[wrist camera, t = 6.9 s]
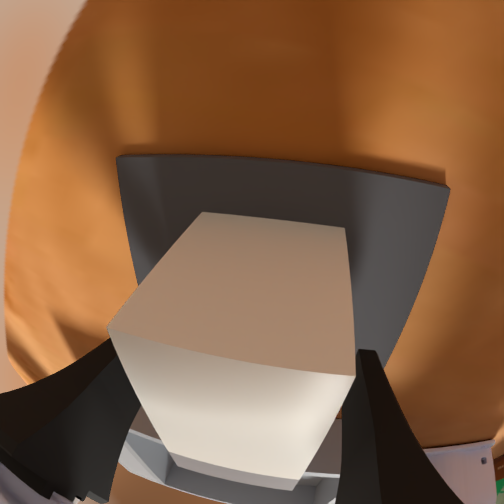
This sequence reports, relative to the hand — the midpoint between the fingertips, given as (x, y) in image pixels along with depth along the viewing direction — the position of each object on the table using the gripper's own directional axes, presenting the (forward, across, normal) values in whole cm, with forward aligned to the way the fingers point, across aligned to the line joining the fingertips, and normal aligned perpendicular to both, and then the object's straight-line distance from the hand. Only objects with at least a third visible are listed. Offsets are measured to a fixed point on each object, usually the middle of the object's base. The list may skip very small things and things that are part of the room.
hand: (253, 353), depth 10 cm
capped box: (+2, 0, 0) cm, 3 cm away
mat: (+3, 0, 0) cm, 3 cm away
